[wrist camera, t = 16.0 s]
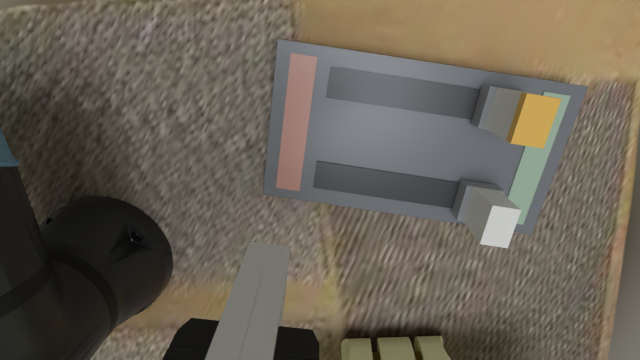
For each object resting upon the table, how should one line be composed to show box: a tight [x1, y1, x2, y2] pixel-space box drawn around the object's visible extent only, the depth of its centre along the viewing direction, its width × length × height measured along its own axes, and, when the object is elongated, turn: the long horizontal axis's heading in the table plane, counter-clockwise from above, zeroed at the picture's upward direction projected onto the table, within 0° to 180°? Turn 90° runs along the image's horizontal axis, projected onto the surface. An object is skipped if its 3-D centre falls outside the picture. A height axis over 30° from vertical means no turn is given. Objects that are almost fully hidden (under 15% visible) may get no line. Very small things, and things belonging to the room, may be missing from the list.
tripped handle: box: [471, 85, 561, 149], centre depth 30 cm, size 4×4×7 cm
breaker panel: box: [263, 39, 588, 248], centre depth 33 cm, size 28×15×10 cm, turn 82°
